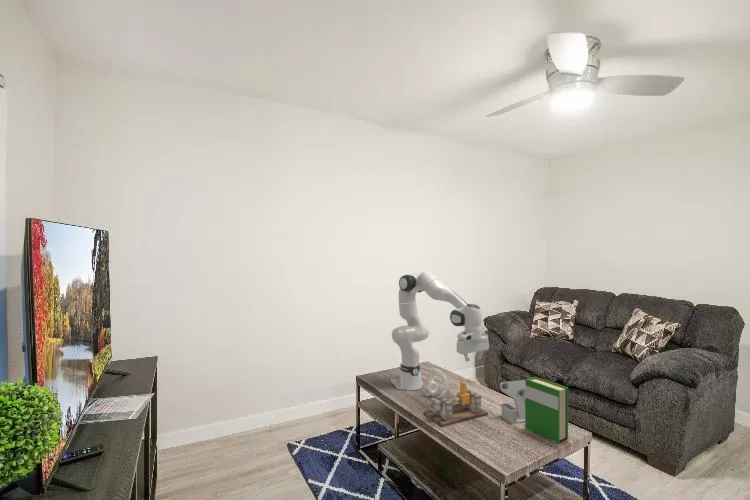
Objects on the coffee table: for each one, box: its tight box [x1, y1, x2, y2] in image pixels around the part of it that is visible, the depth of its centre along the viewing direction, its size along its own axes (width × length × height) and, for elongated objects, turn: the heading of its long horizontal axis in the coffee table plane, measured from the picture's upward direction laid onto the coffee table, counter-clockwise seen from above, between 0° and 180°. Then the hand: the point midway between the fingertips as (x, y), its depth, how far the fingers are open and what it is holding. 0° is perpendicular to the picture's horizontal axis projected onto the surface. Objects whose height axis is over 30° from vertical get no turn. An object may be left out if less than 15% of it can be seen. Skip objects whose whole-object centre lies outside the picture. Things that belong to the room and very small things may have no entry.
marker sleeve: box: [456, 380, 470, 405], centre depth 208 cm, size 5×5×11 cm
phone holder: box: [499, 379, 525, 424], centre depth 202 cm, size 17×10×18 cm, turn 105°
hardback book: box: [524, 376, 569, 444], centre depth 185 cm, size 18×7×24 cm, turn 31°
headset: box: [425, 368, 452, 399], centre depth 224 cm, size 20×7×18 cm, turn 20°
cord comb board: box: [423, 387, 489, 428], centre depth 206 cm, size 16×30×10 cm, turn 117°
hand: (473, 360), depth 211 cm, fingers open, 7 cm apart
